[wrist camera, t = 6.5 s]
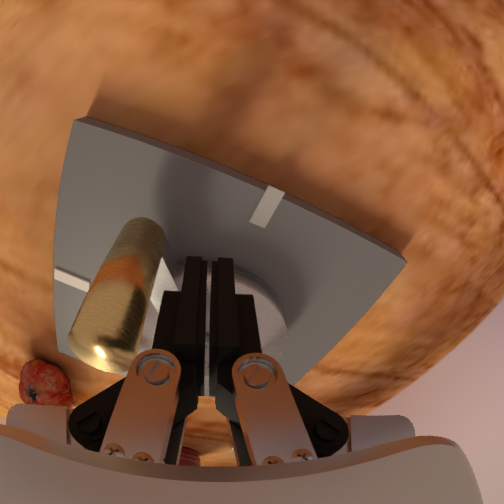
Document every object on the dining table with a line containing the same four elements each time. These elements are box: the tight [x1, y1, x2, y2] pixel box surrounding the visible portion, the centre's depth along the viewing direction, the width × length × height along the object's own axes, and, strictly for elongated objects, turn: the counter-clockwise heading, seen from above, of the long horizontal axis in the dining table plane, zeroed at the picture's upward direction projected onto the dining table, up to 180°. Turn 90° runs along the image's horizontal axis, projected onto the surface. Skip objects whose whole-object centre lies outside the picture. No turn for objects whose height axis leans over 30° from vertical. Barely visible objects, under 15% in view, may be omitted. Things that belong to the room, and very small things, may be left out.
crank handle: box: [68, 217, 288, 389], centre depth 15 cm, size 16×12×9 cm
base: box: [53, 117, 407, 397], centre depth 21 cm, size 24×22×2 cm
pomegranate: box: [19, 359, 73, 409], centre depth 23 cm, size 7×7×10 cm
